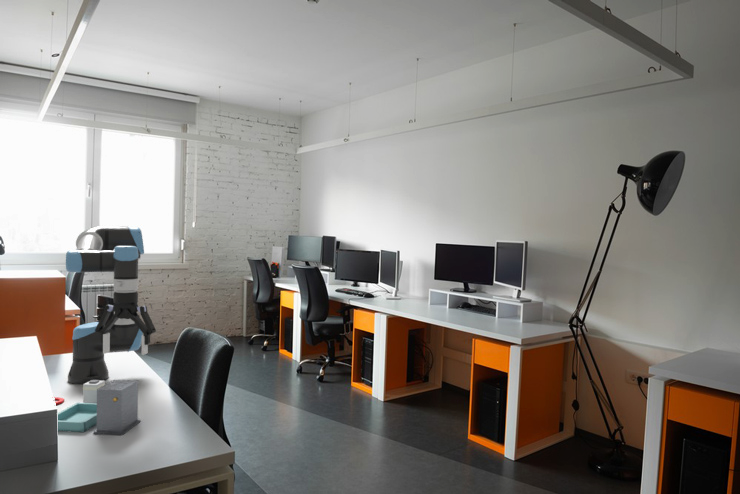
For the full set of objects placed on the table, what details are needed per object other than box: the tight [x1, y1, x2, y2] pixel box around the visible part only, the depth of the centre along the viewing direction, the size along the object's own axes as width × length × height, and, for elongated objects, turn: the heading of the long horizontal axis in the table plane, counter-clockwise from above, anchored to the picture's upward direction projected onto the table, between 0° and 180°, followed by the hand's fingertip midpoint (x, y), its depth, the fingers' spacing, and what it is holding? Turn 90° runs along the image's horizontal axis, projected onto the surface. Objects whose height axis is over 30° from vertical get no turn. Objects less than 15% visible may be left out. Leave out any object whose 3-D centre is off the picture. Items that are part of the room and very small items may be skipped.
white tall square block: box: [82, 380, 106, 403], centre depth 187 cm, size 5×5×9 cm
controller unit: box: [93, 379, 141, 436], centre depth 165 cm, size 11×9×14 cm
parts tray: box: [57, 402, 97, 433], centre depth 170 cm, size 17×13×3 cm
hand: (125, 353), depth 175 cm, fingers open, 13 cm apart
